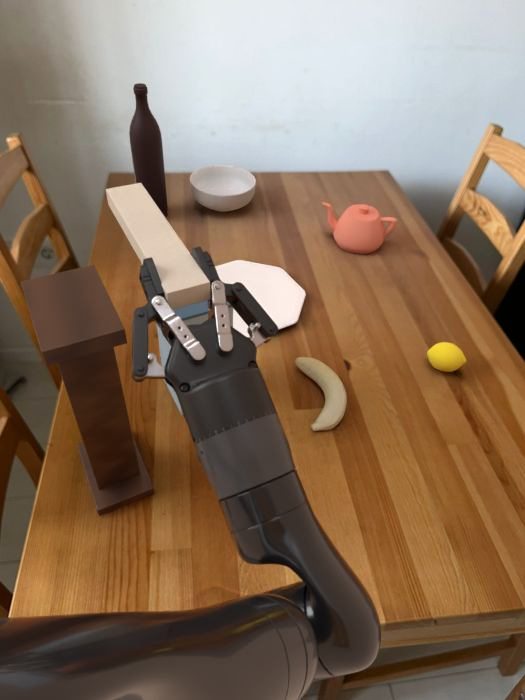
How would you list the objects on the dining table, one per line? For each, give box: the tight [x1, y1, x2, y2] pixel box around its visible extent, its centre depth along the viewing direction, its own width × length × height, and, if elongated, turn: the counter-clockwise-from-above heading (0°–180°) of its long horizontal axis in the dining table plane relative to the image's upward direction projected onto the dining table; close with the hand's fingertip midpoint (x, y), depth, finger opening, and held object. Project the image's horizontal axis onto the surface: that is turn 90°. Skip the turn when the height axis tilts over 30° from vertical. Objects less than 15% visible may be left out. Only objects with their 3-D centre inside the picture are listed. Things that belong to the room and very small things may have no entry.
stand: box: [20, 264, 156, 517], centre depth 65 cm, size 8×12×32 cm, turn 27°
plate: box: [214, 259, 307, 339], centre depth 105 cm, size 24×24×2 cm
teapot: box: [321, 201, 399, 255], centre depth 121 cm, size 12×18×10 cm
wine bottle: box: [128, 82, 169, 218], centre depth 118 cm, size 7×7×30 cm
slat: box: [105, 183, 211, 310], centre depth 51 cm, size 4×20×2 cm, turn 27°
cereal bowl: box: [189, 164, 257, 213], centre depth 131 cm, size 17×17×7 cm
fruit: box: [294, 356, 348, 432], centre depth 87 cm, size 7×15×3 cm, turn 9°
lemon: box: [426, 341, 467, 373], centre depth 93 cm, size 7×5×5 cm
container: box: [156, 301, 233, 417], centre depth 81 cm, size 10×10×21 cm
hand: (171, 257), depth 47 cm, fingers closed on slat, 4 cm apart
